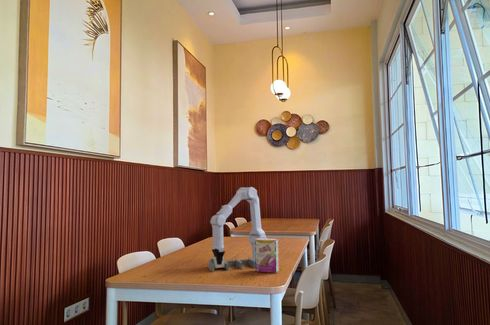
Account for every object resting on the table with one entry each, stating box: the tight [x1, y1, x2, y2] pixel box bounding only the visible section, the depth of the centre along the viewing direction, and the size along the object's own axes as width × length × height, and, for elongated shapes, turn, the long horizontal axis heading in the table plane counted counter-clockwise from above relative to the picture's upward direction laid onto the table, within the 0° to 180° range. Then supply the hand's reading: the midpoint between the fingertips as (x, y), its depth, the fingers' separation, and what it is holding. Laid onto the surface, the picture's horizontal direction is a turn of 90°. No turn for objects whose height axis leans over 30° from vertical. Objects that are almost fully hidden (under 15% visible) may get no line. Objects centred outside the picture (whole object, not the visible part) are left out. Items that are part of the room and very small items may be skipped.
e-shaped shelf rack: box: [207, 257, 256, 273], centre depth 192 cm, size 24×12×5 cm, turn 106°
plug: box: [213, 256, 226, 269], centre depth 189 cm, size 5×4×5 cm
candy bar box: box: [255, 238, 280, 274], centre depth 181 cm, size 11×5×16 cm, turn 71°
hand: (218, 263), depth 189 cm, fingers closed on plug, 4 cm apart
